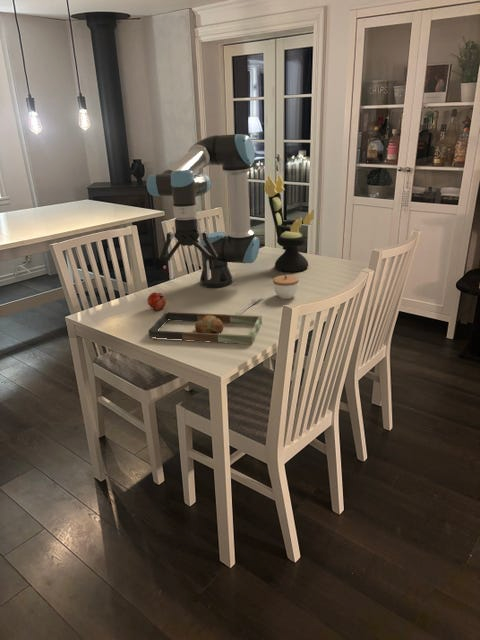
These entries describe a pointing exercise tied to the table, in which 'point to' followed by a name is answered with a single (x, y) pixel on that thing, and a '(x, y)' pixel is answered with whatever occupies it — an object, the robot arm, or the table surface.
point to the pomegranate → (156, 301)
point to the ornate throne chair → (287, 230)
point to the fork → (248, 306)
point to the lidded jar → (285, 286)
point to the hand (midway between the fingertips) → (190, 278)
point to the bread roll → (209, 325)
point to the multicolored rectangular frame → (207, 336)
